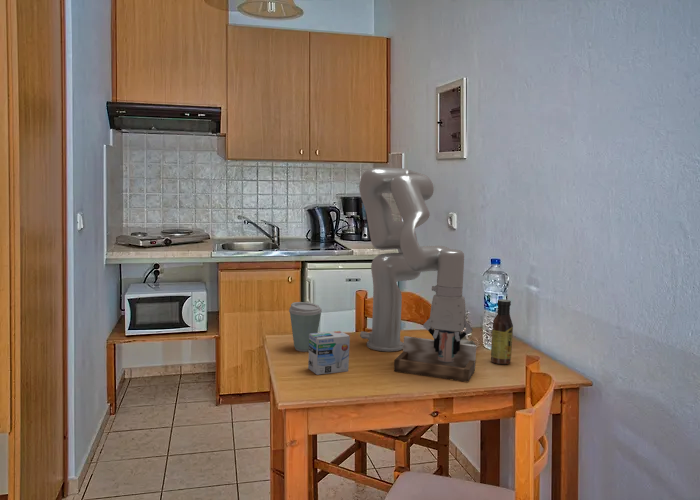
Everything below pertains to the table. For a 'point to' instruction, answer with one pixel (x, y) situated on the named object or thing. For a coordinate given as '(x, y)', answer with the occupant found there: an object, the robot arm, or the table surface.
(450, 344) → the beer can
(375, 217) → the robot arm
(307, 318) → the disposable coffee cup
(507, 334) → the sauce bottle
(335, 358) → the light bulb box
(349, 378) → the table surface
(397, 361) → the wooden tray
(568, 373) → the table surface
